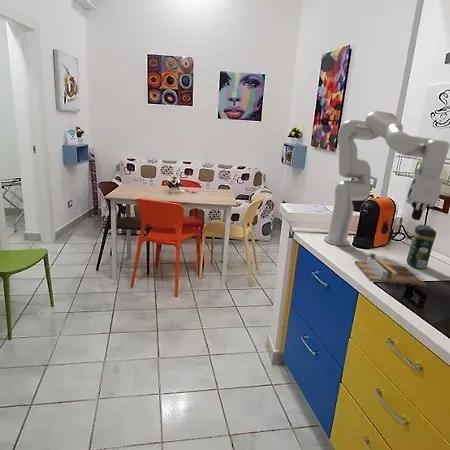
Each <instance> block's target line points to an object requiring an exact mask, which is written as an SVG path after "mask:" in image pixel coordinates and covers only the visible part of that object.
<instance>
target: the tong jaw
mask: <svg viewBox="0 0 450 450" xmlns="http://www.w3.org/2000/svg"><path fill="white" fill-rule="evenodd" d="M374 259H375V260H376V261H377V262H378V263H379V264H380V265H381V266H382V267H383V268H384V269H385V270H386V271H387V272H388V275H387V279H389V280H390V281H395V280H396V277H397V272H396V271H394V270H393V269H392V268H391V267H389V266H388V265H387V264H386V263H384V262H383V261H384V260H382V259H380V258H379V257H375V258H374Z"/></svg>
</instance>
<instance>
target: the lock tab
mask: <svg viewBox="0 0 450 450" xmlns="http://www.w3.org/2000/svg"><path fill="white" fill-rule="evenodd" d="M382 261H383V262H384V263H386V264H387V265H388V266H389V267H391V268H393V265H394V264H393V263H392V262H391V261H385V260H382Z"/></svg>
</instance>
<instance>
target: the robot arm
mask: <svg viewBox="0 0 450 450" xmlns="http://www.w3.org/2000/svg"><path fill="white" fill-rule="evenodd" d="M403 126H404V125H403V123H401V122H400V121H398V117H397V116H396V115H395V114H394V113H391V112H388V111H380V110H375V111H372V112H370V113H368V114H367V115H366V118H365V119H364V120H360V119H359V120H358V119H348V120H346V121H344V122H343V123H342V124H341V126H340V127H339V129H338V133H337V143H338V173H339V174H338V175H339V176H340V177H342V178H343V179H344V178H346V179H354V180H342V181H340V182H338V183H337V184H336V186H335V188H334V202H333V207H332V208H333V210H332V214H331V218H330V223H329V229H328V233H327V235H326V236H324V239H323V240H324V242H326V243H327V244H328V243H329V244H331V245H334V246H339V247H346V246H347V247H348V246H349V245H350V241H349V240H348V236H349V232H350V227H351V224H352V223H351V222H352V218H353V215H354V204H353V201H364V200H367V198H369V196H370V194H371V193H370V192H371V177H372V176H371V173H372V171H371V165H370V164H369V162H368V161H367V160H364V159H363V158H361V159H358V147H357V144H356V143H355V141H354V140H362V141H371V140H375V139H378V138H380V137H381V138H382V139H384V140H385V143H386V145H387V146H388V147H389V148H391V150H394V151H395V152H396V153H398V154H399V155H402V156H406V157H413V158H414V157H415V158H422V159H421V163H420V166H419V167H418V168H416V169H415V172H416V173H417V174H415V176H414V177H413V180H412V182H411V183H410V184H411V185H410V186H409V189H408V192H407V195H406V196H407V197H406V198H407V199H406V200H405V202H406V203H407V204H409V205H411V206H412V209H413V210H412V213H411V219H413V220H414V221H421V218H422V216H423V213H424V211H425V210H426V209H427V208H432V207H435V205H436V204H437V203H438V201H439V198H440V194H441V190H442V189H441V188H442V183H443V182H442V178H441V174H442V171H443V169H444V164H445V162H446V159H447V155H448V153H449V150H450V143H449V142H448V141H446V140H439V139H431V138H428V137H419V136H415V135H409V134H408V133H405V132H404V131H403V129H404V127H403Z"/></svg>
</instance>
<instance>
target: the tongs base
mask: <svg viewBox="0 0 450 450" xmlns="http://www.w3.org/2000/svg"><path fill="white" fill-rule="evenodd" d="M374 258H376V253H372V252H371V253H369V255H368V258H367V261H366V262H367V266H368V267H369V268H370V269H371V270H372V271H373V272H374V273H375V274H376V275H377V277H378V278H379V279H380V280H385V281H386V278H387V275H388V272H387V271H386V270H385V269H384V268H383V267H382V266H381V265H380V264H379V263H378V262H377V261H376V260H375V259H374Z"/></svg>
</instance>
